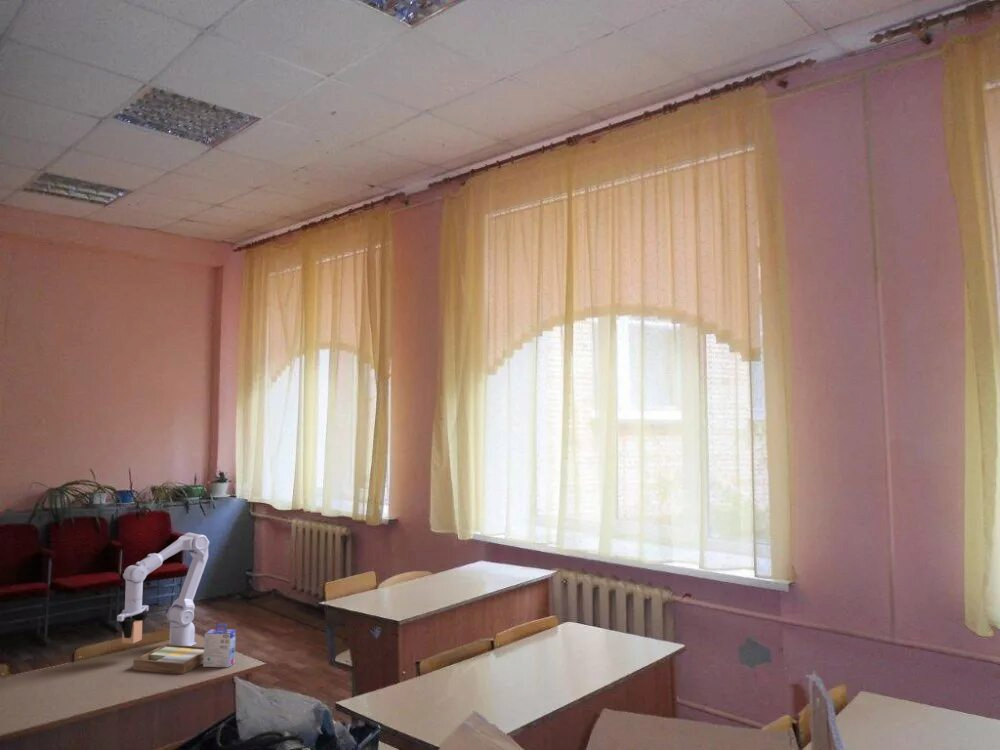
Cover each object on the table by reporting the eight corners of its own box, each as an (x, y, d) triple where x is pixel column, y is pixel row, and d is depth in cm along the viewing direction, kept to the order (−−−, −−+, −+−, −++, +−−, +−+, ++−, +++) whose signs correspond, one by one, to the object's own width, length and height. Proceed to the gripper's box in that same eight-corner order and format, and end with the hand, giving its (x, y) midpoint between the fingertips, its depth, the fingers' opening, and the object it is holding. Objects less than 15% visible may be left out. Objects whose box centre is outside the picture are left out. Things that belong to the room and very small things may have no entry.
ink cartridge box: (235, 662, 259) (237, 622, 260) (229, 667, 254) (230, 627, 255) (209, 661, 260) (210, 622, 261) (202, 667, 254) (204, 626, 255)
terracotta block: (130, 638, 263) (131, 619, 263) (141, 639, 262) (142, 620, 263) (122, 642, 258) (122, 623, 259) (133, 643, 258) (133, 624, 258)
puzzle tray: (165, 653, 268) (165, 644, 269) (212, 657, 265) (213, 647, 265) (133, 669, 251) (133, 659, 251) (183, 674, 247) (183, 664, 247)
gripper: (137, 593, 269) (136, 628, 268) (110, 602, 255) (108, 640, 254) (153, 594, 268) (152, 630, 267) (127, 603, 254) (125, 642, 253)
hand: (132, 635), depth 260 cm, fingers closed on terracotta block, 5 cm apart
